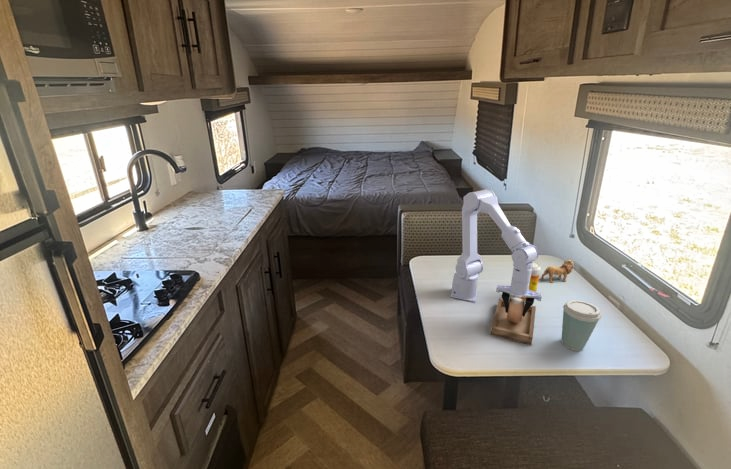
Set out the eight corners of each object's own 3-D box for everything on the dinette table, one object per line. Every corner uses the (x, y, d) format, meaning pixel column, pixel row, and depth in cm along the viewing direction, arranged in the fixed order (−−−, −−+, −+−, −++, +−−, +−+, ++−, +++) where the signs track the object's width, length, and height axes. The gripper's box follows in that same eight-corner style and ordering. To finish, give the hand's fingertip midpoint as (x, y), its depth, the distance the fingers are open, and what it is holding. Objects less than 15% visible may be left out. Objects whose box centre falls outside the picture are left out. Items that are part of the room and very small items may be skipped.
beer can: (536, 302, 146) (542, 268, 140) (519, 301, 147) (525, 267, 141) (532, 294, 151) (539, 261, 146) (517, 293, 153) (522, 260, 147)
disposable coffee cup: (550, 334, 128) (558, 296, 122) (582, 334, 128) (591, 296, 122) (564, 355, 118) (574, 315, 112) (599, 355, 118) (610, 315, 112)
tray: (490, 334, 128) (491, 327, 127) (498, 305, 145) (499, 298, 144) (531, 345, 123) (532, 337, 122) (534, 313, 139) (535, 306, 138)
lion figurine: (565, 275, 166) (569, 257, 163) (574, 281, 162) (578, 262, 158) (536, 279, 163) (540, 261, 160) (544, 285, 158) (548, 266, 155)
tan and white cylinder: (505, 320, 132) (508, 302, 129) (507, 312, 136) (510, 295, 133) (520, 323, 130) (524, 306, 127) (522, 316, 134) (525, 299, 131)
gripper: (496, 280, 126) (492, 314, 132) (543, 289, 121) (536, 324, 126) (499, 271, 132) (494, 304, 138) (544, 279, 127) (537, 313, 132)
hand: (515, 313), depth 132 cm, fingers closed on tan and white cylinder, 5 cm apart
